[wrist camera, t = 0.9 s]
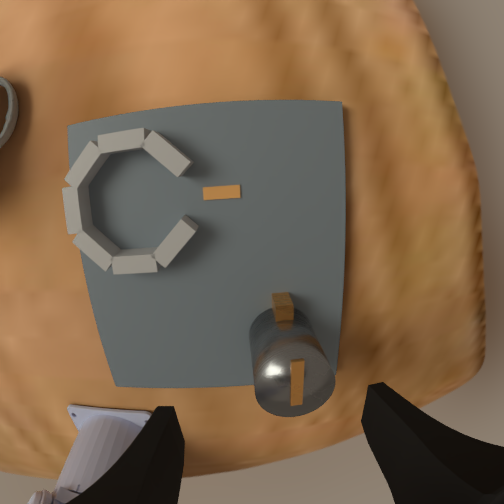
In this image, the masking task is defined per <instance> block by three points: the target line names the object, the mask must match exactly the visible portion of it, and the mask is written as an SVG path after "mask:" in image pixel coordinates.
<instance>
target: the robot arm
mask: <svg viewBox="0 0 504 504" xmlns="http://www.w3.org/2000/svg"><path fill="white" fill-rule="evenodd" d="M67 410H68V412H69V414H70V416H71V418H72V420H73V422H74V424H75V426H76V428H77V429H78V431H79V433H78V435H77V437H76V440H75V442H74V444H73V446H72V448H71V451H70V453H69V455H68V458H67V460H66V462H65V465H64V467H63V469H62V472H61V474H60V476H59V479H58V481H57V484H56V486H55V489H54V491H53V492H52V493H50V492H48V491H47V490H42V491H37V492H34V494H33V495H32V496H31V498H30V500H29V502H28V503H27V504H177V503H178V497H179V491H180V485H181V479H182V473H183V466H184V446H185V441H184V438H183V434H182V431H181V428H180V425H179V422H178V419H177V415H176V412H175V409H174V406H158V407H157V408H156V409H155V410H154V412H153V413H152V414H151V413H150V412H148V411H134V410H119V409H107V408H96V407H87V406H79V405H69V406H68V407H67ZM147 420H148V421H147ZM361 423H362V426H363V429H364V432H365V435H366V438H367V441H368V444H369V446H370V448H371V450H372V452H373V454H374V456H375V458H376V460H377V462H378V464H379V466H380V468H381V471H382V473H383V474H384V477H385V479H386V480H387V483H388V485H389V488H390V490H391V493H392V496H393V498H394V502H395V504H504V447H501V446H498V445H493V444H490V443H486V442H483V441H480V440H477V439H475V438H472V437H469V436H467V435H464V434H462V433H460V432H458V431H456V430H454V429H451V428H449V427H448V426H445V425H444V424H442V423H440V422H439V421H437V420H435V419H434V418H432V417H430V416H429V415H427V414H426V413H424V412H423V411H421V410H420V409H418V408H417V407H416V406H414V405H413V404H411V403H410V402H409V401H407V400H406V399H405V398H403V397H402V396H401V395H399V394H398V393H397V392H395V391H394V390H393V389H391V388H390V387H389V386H387V385H386V384H385V383H383V382H381V383H376V384H372V385H368V390H367V395H366V400H365V405H364V410H363V415H362V419H361Z"/></svg>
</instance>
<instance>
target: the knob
mask: <svg viewBox="0 0 504 504" xmlns="http://www.w3.org/2000/svg"><path fill="white" fill-rule="evenodd" d="M271 294H272V308H270V309H268V310H266V311H264V312H262V313H261V314H260V315H259V316H257V318H256V319H255V320H254V321H253V323H252V325H251V327H250V330H249V342H250V351H251V360H252V369H253V378H254V386H255V395H256V399H257V401H258V403H259V405H260V406H261V407H262V408H263V409H264V410H266V411H267V412H269V413H271V414H273V415H277V416H282V417H295V416H301V415H304V414H307V413H310V412H312V411H314V410H316V409H317V408H319V407H320V406H322V405H323V404H324V403H325V402H326V401H327V400H328V399H329V397H330V396H331V394H332V393H333V390H334V387H335V375H334V372H333V370H332V368H331V366H330V364H329V362H328V360H327V357H326V355H325V353H324V351H323V349H322V347H321V345H320V343H319V341H318V338H317V336H316V334H315V332H314V330H313V328H312V326H311V324H310V322H309V320H308V318H307V317H306V315H305V314H304V313H302V312H301V311H300V310H298V309H295V308H294V305H293V302H292V300H291V298H290V295H289V293H288V292H283V293H271Z"/></svg>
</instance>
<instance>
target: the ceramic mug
mask: <svg viewBox="0 0 504 504" xmlns="http://www.w3.org/2000/svg"><path fill="white" fill-rule="evenodd" d="M0 85H1V86H3V87H4V88H5V89H6V91H7V94H8V106H9V107H8V111H7V114H6V117H5V119H6V123H5V124H4V127H3V130H2V132H1V133H0V148H1V147H2V146H3V145H4V144H5V143H6V142H7V140H8V139H9V138H10V136H11V134H12V133H13V130H14V128H15V125H16V122H17V118H18V99H17V95H16V92H15V90H14V89H13V87H12V85H11V84H10V83H9V82H8V81H7V80H6V79H5V78H3V77H0Z"/></svg>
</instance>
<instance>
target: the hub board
mask: <svg viewBox="0 0 504 504" xmlns="http://www.w3.org/2000/svg"><path fill="white" fill-rule="evenodd" d="M68 150H69V166H70V171H69V172H68V174H67V176H66V177H65V179H64V180H65V181H66V182H67V183H69V184H70V185H71V187H66V188H62V192H63V201H64V209H65V216H66V223H67V230H68V234H75V233H77V235H76V237H75V238H74V240H73V243H74V244H75V245H76V246H77V247H78V248H79V249H80V253H81V258H82V263H83V268H84V273H85V278H86V283H87V287H88V292H89V296H90V300H91V304H92V308H93V312H94V316H95V320H96V324H97V328H98V331H99V335H100V338H101V342H102V345H103V348H104V352H105V355H106V358H107V361H108V364H109V367H110V370H111V373H112V376H113V379H114V382H115V385H116V386H118V387H142V388H201V387H226V386H243V385H254V378H253V369H252V360H251V351H250V342H249V330H250V327H251V325H252V323H253V321H254V320H255V319H256V318H257V316H259V315H260V314H261V313H262V312H264V311H266V310H268V309H270V308H272V294H271V293H283V292H288V293H289V295H290V298H291V300H292V302H293V305H294V308H295V309H298V310H300V311H301V312H302V313H304V314H305V315H306V317H307V318H308V320H309V322H310V324H311V326H312V328H313V330H314V332H315V334H316V336H317V338H318V341H319V343H320V345H321V347H322V349H323V351H324V353H325V355H326V357H327V360H328V362H329V364H330V366H331V368H332V370H333V372H334V375H336V370H337V361H338V351H339V340H340V329H341V316H342V302H343V285H344V263H345V224H346V187H345V148H344V127H343V110H342V102H338V101H316V100H254V101H231V102H216V103H204V104H193V105H183V106H174V107H166V108H159V109H152V110H145V111H138V112H132V113H126V114H121V115H115V116H110V117H105V118H100V119H95V120H90V121H86V122H81V123H77V124H73V125H69V126H68Z"/></svg>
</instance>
